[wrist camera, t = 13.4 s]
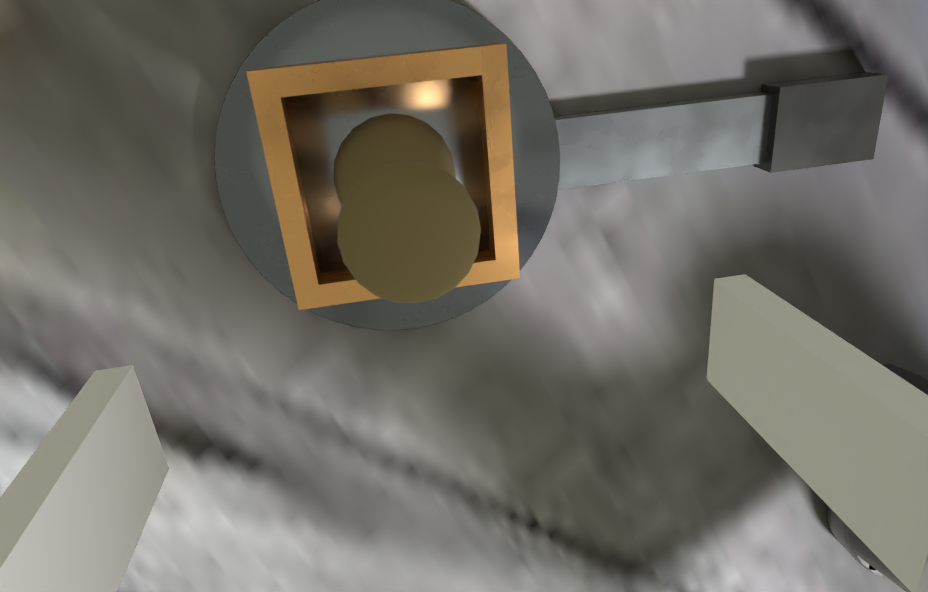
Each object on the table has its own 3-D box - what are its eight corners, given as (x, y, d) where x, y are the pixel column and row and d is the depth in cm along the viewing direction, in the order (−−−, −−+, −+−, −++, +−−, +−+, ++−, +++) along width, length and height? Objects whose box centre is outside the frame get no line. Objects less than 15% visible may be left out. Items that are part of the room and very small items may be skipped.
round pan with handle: (262, 341, 35) (254, 366, 33) (177, 7, 28) (159, 6, 26) (835, 256, 39) (869, 272, 36) (887, -61, 32) (933, -67, 29)
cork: (363, 251, 33) (367, 353, 23) (311, 141, 30) (290, 202, 20) (471, 207, 33) (523, 290, 23) (429, 93, 30) (465, 131, 20)
